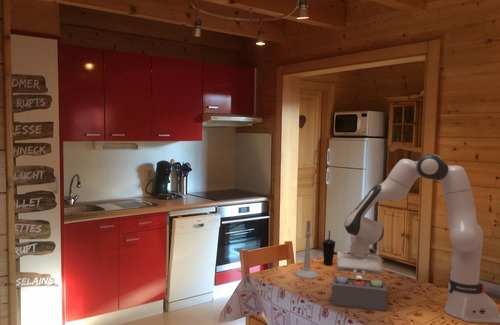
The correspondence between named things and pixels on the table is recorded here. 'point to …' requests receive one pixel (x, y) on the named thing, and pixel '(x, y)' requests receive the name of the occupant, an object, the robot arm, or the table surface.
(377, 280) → the green button
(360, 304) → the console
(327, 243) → the drinking cup
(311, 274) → the candlestick
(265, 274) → the table surface
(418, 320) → the table surface
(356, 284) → the red button
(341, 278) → the blue button
